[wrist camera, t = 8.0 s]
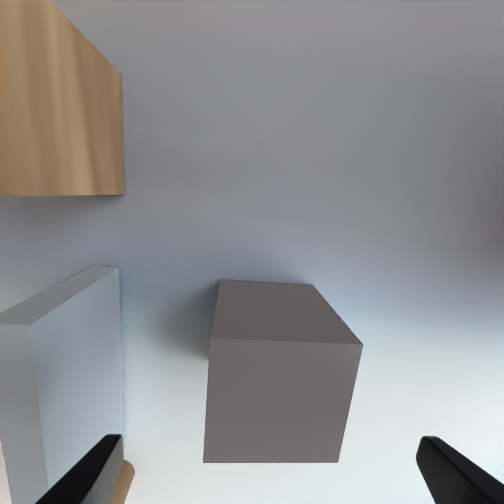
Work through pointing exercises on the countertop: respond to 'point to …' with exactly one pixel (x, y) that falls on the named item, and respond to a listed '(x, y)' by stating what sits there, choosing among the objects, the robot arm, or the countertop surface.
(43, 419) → the door
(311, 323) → the block
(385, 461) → the countertop surface
